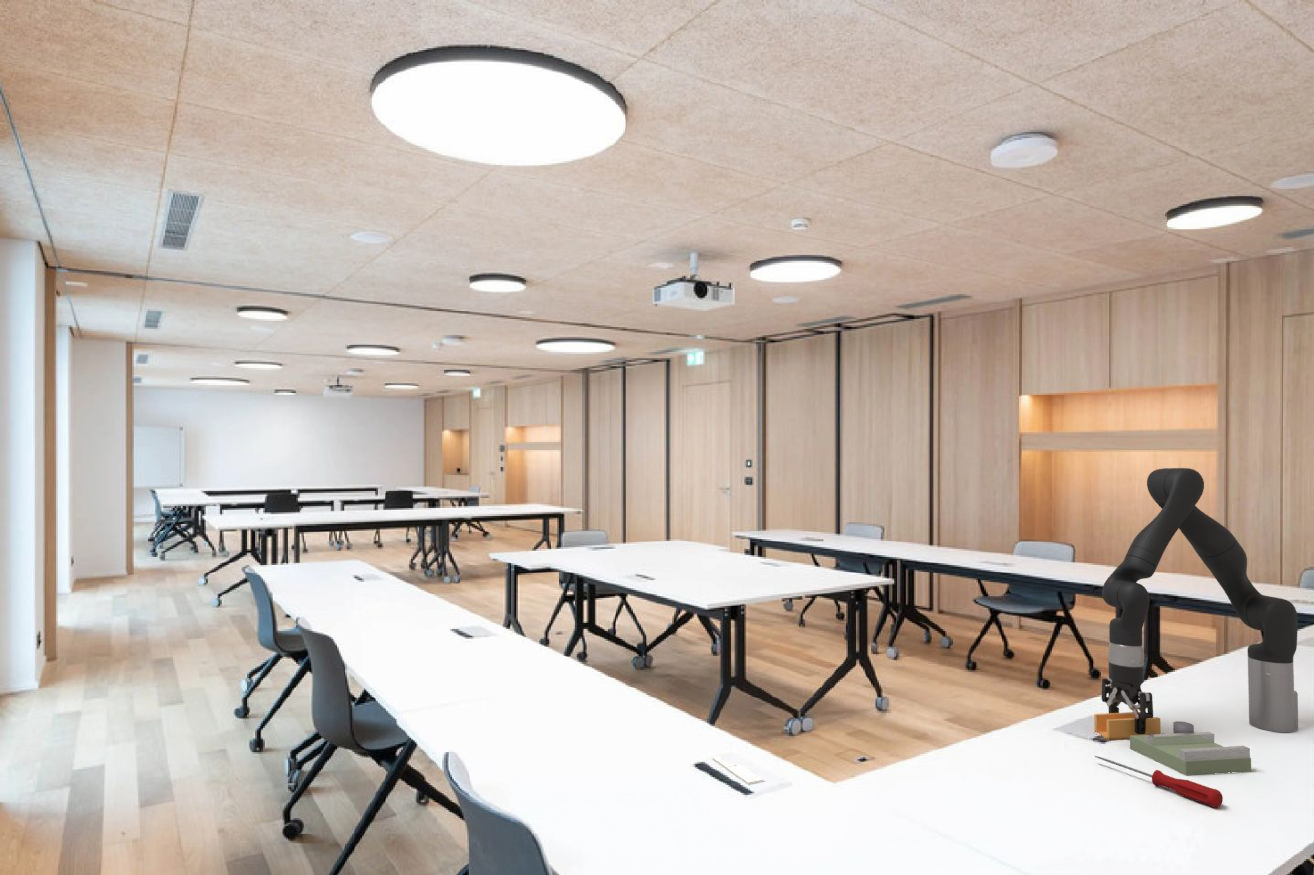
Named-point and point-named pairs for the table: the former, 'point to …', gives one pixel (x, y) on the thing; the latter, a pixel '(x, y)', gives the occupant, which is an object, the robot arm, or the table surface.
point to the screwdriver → (1182, 786)
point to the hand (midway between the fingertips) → (1126, 727)
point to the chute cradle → (1198, 753)
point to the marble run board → (1170, 758)
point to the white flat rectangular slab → (740, 772)
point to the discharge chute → (1123, 725)
